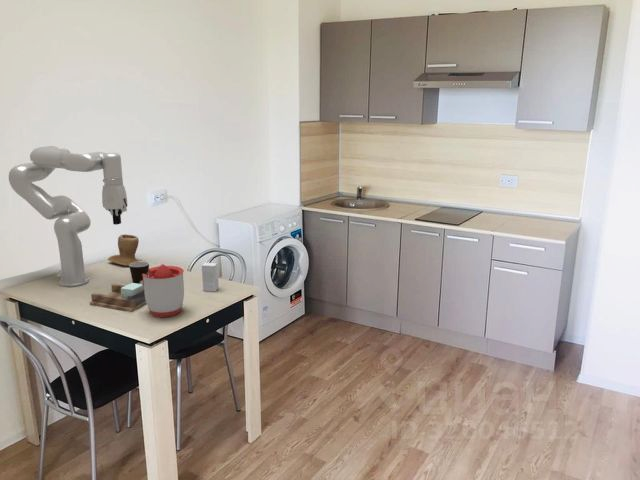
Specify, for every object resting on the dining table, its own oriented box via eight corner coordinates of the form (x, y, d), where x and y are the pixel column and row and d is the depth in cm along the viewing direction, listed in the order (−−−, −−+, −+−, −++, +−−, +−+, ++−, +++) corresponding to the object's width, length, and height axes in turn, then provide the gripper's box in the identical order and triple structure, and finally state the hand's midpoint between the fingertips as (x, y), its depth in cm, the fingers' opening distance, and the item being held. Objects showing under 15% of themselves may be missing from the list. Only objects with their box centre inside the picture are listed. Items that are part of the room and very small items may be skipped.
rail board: (89, 304, 221) (88, 290, 219) (116, 292, 235) (115, 278, 234) (131, 312, 214) (130, 297, 212) (156, 298, 228) (155, 284, 227)
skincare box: (218, 288, 241) (217, 263, 238) (215, 291, 237) (214, 266, 234) (205, 287, 242) (204, 262, 239) (202, 291, 238) (201, 265, 235)
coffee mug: (144, 289, 240) (142, 267, 237) (127, 287, 241) (125, 266, 239) (157, 280, 251) (155, 260, 248) (140, 279, 252) (138, 258, 250)
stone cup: (145, 263, 277) (142, 235, 273) (124, 268, 267) (122, 239, 263) (127, 258, 285) (125, 230, 281) (107, 263, 276) (104, 235, 272)
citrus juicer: (150, 303, 223) (147, 257, 218) (191, 305, 221) (188, 259, 216) (134, 318, 208) (130, 269, 203) (177, 320, 206) (174, 271, 201)
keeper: (121, 301, 220) (120, 288, 219) (133, 296, 227) (131, 282, 225) (133, 303, 218) (132, 290, 217) (144, 298, 225) (143, 284, 223)
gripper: (93, 182, 229) (97, 224, 234) (121, 184, 225) (125, 227, 229) (105, 180, 236) (109, 220, 241) (133, 182, 231) (137, 223, 236)
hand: (117, 223), depth 235 cm, fingers closed
